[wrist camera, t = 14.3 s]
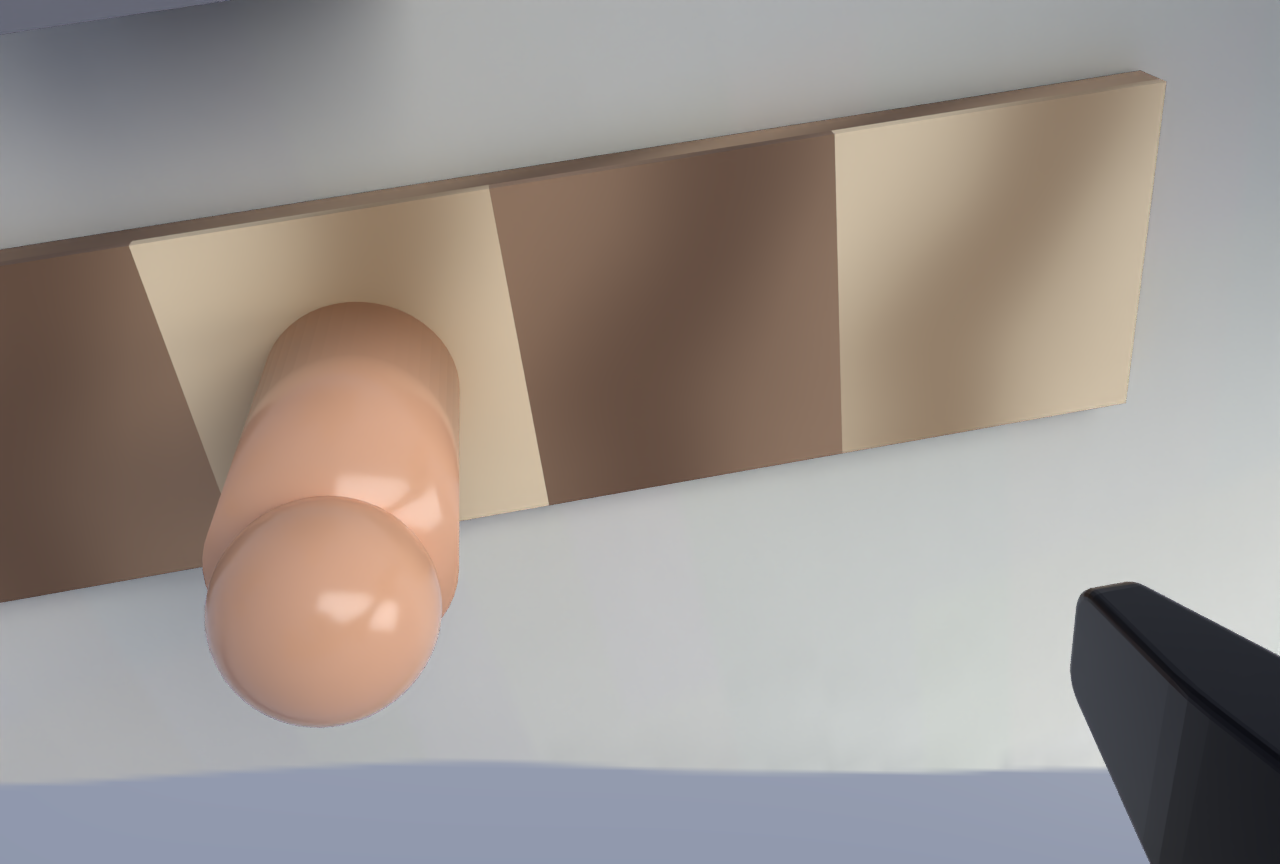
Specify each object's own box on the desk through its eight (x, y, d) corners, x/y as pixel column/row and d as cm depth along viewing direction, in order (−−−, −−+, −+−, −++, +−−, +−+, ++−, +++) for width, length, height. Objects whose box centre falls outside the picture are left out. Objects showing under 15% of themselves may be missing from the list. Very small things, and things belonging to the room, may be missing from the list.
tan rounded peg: (448, 293, 18) (439, 558, 12) (469, 462, 20) (471, 772, 14) (244, 310, 18) (127, 591, 12) (283, 480, 19) (198, 806, 13)
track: (1140, 70, 19) (1166, 81, 18) (1104, 383, 22) (1125, 402, 21) (-220, 284, 17) (-248, 305, 17) (-53, 587, 20) (-71, 614, 20)
